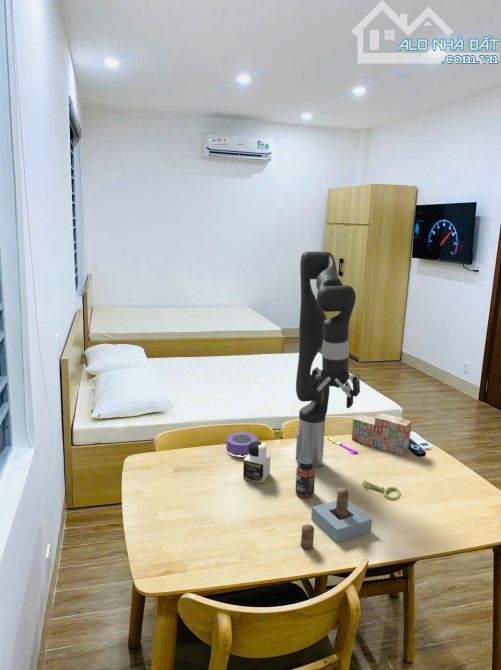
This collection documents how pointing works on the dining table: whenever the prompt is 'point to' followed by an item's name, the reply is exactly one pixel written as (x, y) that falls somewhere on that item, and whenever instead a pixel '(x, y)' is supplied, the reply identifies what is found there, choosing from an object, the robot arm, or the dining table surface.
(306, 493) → the supplement bottle
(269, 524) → the dining table surface
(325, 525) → the collar block
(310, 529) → the walnut pin short
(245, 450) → the tape roll
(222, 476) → the dining table surface
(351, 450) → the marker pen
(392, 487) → the key
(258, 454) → the medicine bottle
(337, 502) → the walnut pin tall
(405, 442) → the stack of blocks
